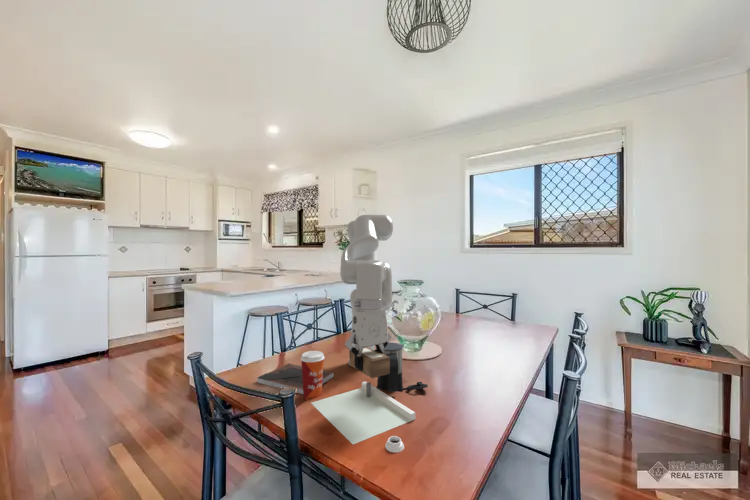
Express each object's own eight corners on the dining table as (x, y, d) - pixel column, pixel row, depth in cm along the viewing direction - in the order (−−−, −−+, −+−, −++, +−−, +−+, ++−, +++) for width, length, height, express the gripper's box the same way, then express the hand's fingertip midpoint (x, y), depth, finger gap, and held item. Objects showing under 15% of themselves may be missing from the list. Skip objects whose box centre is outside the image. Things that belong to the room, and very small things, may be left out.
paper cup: (313, 405, 97) (313, 359, 97) (295, 399, 101) (295, 355, 101) (329, 395, 103) (329, 352, 103) (312, 389, 107) (312, 348, 107)
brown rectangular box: (349, 364, 94) (349, 349, 94) (366, 361, 98) (366, 346, 98) (372, 378, 84) (372, 360, 84) (389, 373, 88) (389, 356, 88)
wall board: (365, 390, 107) (365, 374, 107) (415, 423, 87) (415, 404, 87) (310, 406, 96) (310, 389, 96) (352, 449, 75) (352, 427, 75)
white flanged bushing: (387, 443, 78) (381, 456, 73) (387, 431, 78) (381, 443, 73) (407, 448, 76) (401, 461, 71) (407, 436, 76) (401, 448, 71)
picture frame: (257, 384, 113) (305, 396, 104) (257, 377, 113) (305, 389, 104) (288, 368, 128) (333, 378, 118) (288, 362, 128) (333, 371, 118)
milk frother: (372, 385, 111) (372, 343, 111) (411, 378, 117) (411, 338, 117) (389, 403, 98) (389, 355, 98) (432, 394, 104) (433, 349, 104)
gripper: (349, 309, 83) (349, 378, 83) (400, 303, 93) (400, 364, 93) (336, 305, 89) (336, 369, 89) (385, 300, 99) (385, 357, 99)
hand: (368, 366), depth 91 cm, fingers closed on brown rectangular box, 6 cm apart
